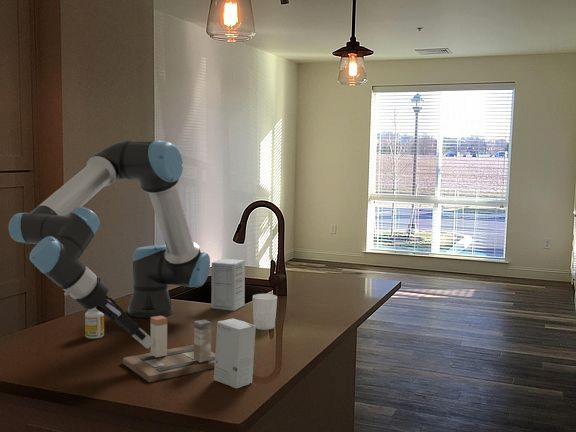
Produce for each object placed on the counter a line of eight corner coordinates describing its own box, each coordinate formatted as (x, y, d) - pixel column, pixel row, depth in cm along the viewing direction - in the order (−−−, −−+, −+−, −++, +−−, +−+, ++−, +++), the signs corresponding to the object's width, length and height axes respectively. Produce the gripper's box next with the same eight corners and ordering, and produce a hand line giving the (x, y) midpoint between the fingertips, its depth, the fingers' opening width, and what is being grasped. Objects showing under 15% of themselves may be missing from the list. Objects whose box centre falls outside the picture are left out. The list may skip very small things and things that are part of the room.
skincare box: (213, 380, 153) (214, 321, 151) (230, 374, 157) (231, 317, 156) (237, 389, 147) (238, 328, 146) (255, 383, 152) (256, 323, 150)
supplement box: (245, 305, 228) (246, 260, 226) (234, 311, 219) (235, 264, 217) (221, 302, 231) (222, 257, 229) (210, 308, 222) (211, 261, 220)
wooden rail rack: (149, 382, 150) (149, 333, 149) (122, 363, 163) (122, 318, 162) (226, 365, 164) (227, 320, 163) (196, 349, 176) (197, 307, 175)
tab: (155, 357, 162) (156, 319, 161) (150, 354, 165) (150, 317, 164) (167, 355, 164) (167, 318, 163) (161, 351, 167) (161, 315, 166)
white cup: (273, 331, 196) (274, 300, 195) (249, 329, 197) (249, 298, 196) (278, 324, 204) (279, 294, 203) (255, 322, 205) (256, 293, 204)
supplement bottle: (98, 332, 190) (98, 301, 189) (107, 336, 186) (107, 304, 185) (81, 335, 186) (81, 304, 185) (90, 340, 182) (90, 307, 181)
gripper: (66, 294, 154) (130, 348, 166) (85, 306, 144) (151, 363, 156) (87, 271, 157) (148, 326, 169) (107, 281, 146) (171, 338, 158)
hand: (150, 344), depth 162 cm, fingers closed
